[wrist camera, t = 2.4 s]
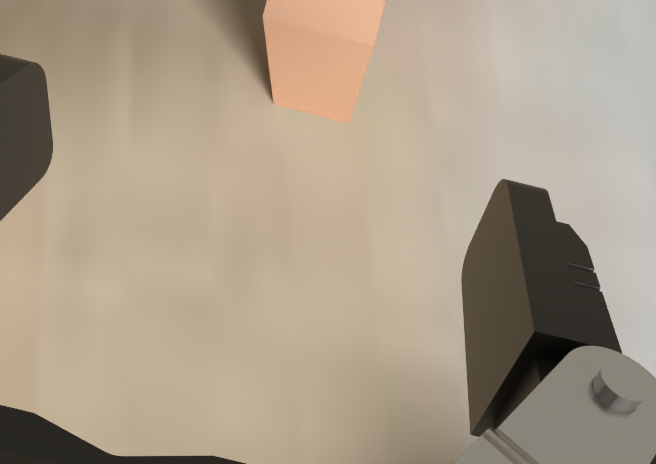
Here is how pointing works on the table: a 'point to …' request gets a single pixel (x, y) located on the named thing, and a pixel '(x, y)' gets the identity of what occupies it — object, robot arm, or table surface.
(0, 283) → the table surface
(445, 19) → the table surface
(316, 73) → the peg
